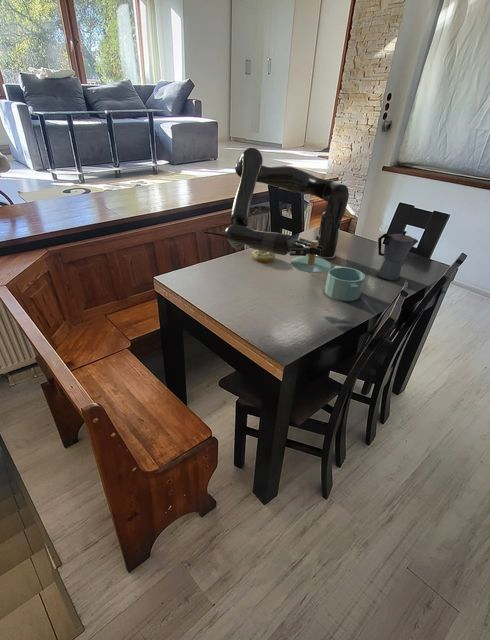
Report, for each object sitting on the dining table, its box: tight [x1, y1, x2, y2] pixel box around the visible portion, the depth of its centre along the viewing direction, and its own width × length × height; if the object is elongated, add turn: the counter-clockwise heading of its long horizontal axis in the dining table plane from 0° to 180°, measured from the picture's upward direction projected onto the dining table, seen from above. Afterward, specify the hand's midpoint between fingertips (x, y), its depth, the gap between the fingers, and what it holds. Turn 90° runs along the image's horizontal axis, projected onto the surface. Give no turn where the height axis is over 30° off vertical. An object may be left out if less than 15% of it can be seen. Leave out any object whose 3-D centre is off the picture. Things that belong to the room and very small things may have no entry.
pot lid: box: [290, 239, 332, 274], centre depth 132 cm, size 15×15×10 cm
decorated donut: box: [252, 249, 276, 264], centre depth 170 cm, size 10×11×4 cm
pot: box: [324, 265, 366, 302], centre depth 140 cm, size 14×19×8 cm
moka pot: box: [377, 230, 419, 281], centre depth 152 cm, size 10×15×20 cm, turn 78°
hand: (321, 250), depth 130 cm, fingers closed on pot lid, 2 cm apart
